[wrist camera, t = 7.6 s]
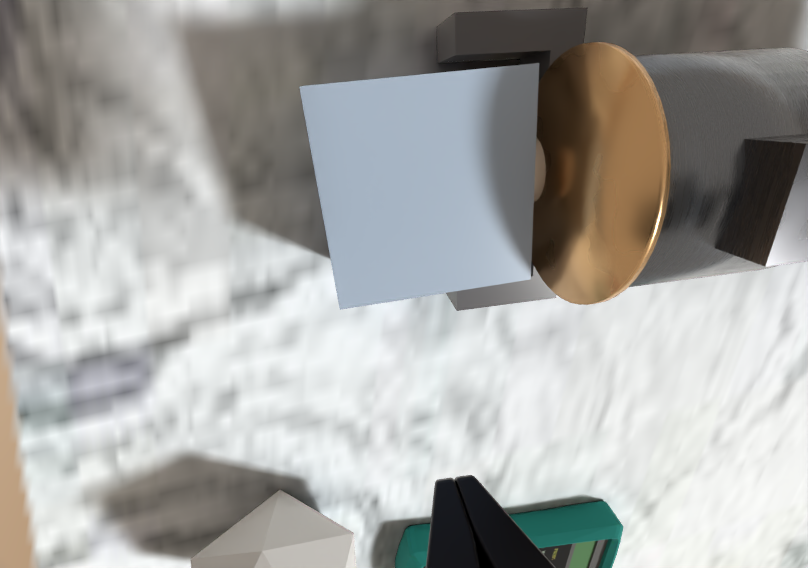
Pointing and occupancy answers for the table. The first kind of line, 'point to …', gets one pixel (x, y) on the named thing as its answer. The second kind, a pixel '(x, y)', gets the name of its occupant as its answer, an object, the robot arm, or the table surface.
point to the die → (281, 539)
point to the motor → (669, 167)
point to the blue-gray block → (427, 180)
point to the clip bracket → (539, 43)
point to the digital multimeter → (544, 536)
